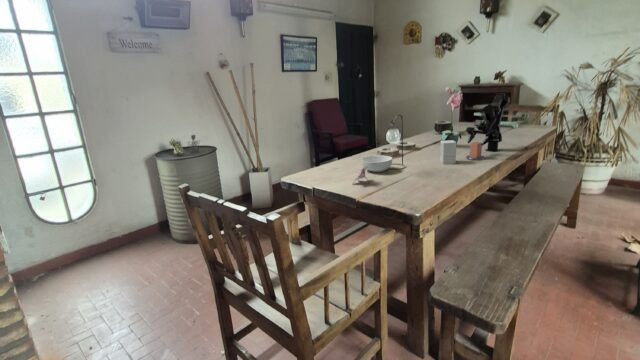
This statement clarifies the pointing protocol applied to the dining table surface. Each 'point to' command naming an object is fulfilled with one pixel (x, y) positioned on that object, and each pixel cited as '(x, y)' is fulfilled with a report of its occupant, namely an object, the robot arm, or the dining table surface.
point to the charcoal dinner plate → (475, 158)
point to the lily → (362, 174)
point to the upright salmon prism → (475, 149)
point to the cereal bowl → (377, 163)
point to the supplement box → (448, 152)
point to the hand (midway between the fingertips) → (474, 144)
